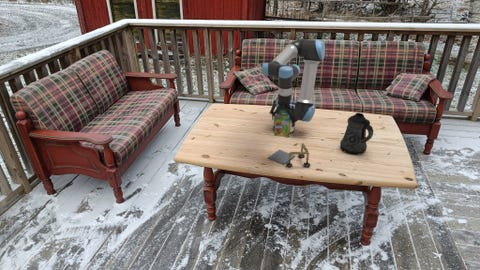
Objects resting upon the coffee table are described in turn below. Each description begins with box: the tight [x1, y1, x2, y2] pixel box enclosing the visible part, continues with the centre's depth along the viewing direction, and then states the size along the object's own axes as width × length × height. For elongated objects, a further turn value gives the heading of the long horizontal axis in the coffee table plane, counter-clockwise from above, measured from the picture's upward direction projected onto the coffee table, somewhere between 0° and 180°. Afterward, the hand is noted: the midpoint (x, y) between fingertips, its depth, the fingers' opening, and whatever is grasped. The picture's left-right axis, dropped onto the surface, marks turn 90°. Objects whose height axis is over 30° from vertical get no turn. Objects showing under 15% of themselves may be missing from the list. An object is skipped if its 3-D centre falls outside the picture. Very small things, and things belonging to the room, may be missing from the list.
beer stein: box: [339, 112, 374, 156], centre depth 213 cm, size 16×19×25 cm
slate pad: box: [267, 149, 296, 166], centre depth 211 cm, size 12×12×1 cm
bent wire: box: [285, 143, 311, 169], centre depth 202 cm, size 12×18×10 cm, turn 139°
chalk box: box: [273, 110, 291, 138], centre depth 199 cm, size 9×9×15 cm
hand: (283, 128), depth 201 cm, fingers closed on chalk box, 11 cm apart
